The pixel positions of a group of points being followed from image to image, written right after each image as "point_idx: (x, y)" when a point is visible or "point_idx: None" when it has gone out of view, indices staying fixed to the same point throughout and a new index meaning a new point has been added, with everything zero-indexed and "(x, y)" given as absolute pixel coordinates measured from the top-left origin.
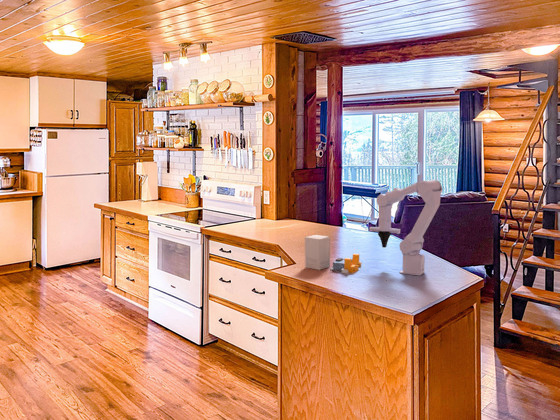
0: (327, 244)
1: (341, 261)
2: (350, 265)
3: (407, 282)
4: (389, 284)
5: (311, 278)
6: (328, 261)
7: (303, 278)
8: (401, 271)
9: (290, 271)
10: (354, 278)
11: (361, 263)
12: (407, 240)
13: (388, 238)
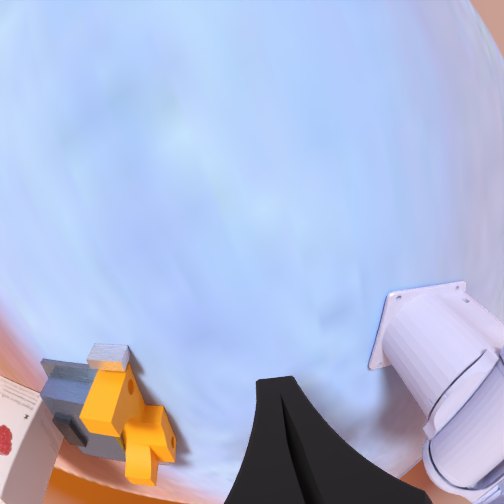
0: (20, 482)
1: (94, 443)
2: (155, 457)
3: (391, 422)
4: None
5: (122, 482)
6: (41, 421)
7: (109, 482)
8: (377, 357)
9: None
10: (219, 468)
11: (123, 356)
12: (473, 489)
13: (354, 460)
